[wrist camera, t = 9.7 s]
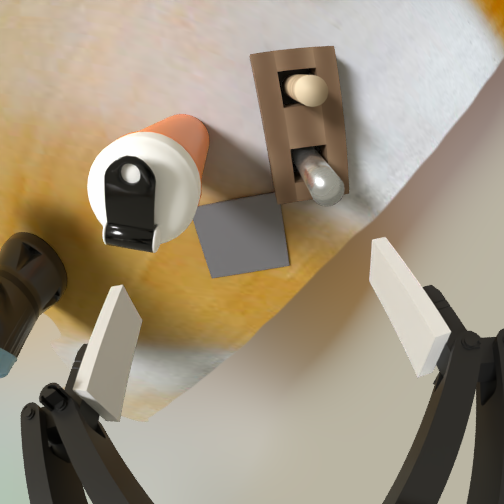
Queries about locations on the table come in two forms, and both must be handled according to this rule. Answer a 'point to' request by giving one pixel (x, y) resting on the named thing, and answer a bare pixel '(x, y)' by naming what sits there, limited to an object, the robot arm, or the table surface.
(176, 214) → the shaker bottle
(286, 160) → the hole block
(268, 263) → the mat
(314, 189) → the peg
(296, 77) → the dowel
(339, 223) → the table surface
